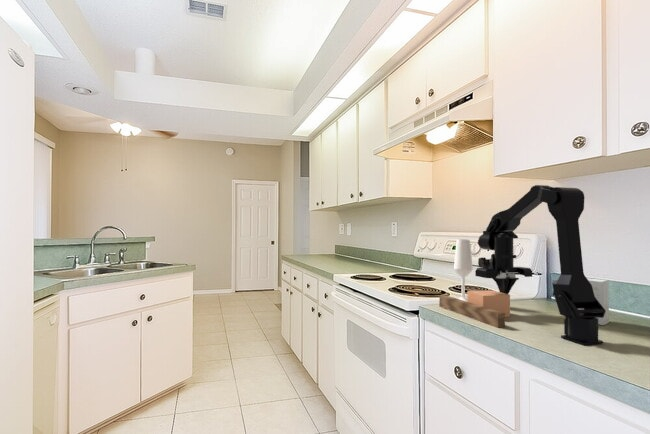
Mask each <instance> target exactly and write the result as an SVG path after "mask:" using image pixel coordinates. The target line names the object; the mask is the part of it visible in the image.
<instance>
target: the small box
mask: <svg viewBox="0 0 650 434" xmlns="http://www.w3.org/2000/svg"><path fill="white" fill-rule="evenodd" d="M586 278H587V279H588V281H589V282H590V283H591V285H592V288H593V292H594V296H595V298H596V299H597V300H598V301H599V303H600V304H601V305H602V306H603V308H604V309H605V310H606V312H605V315H604V317H603V318H600V317H598V326H600V325H601V326H604V325H607V324H608V323H609V322H610V302H609V301H610V297H609V293H610V292H609V291H610V290H609V280H608V279H601V278H600V279H599V278H589V277H586ZM583 309H584V308H583ZM578 310H582V309H578Z"/></svg>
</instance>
